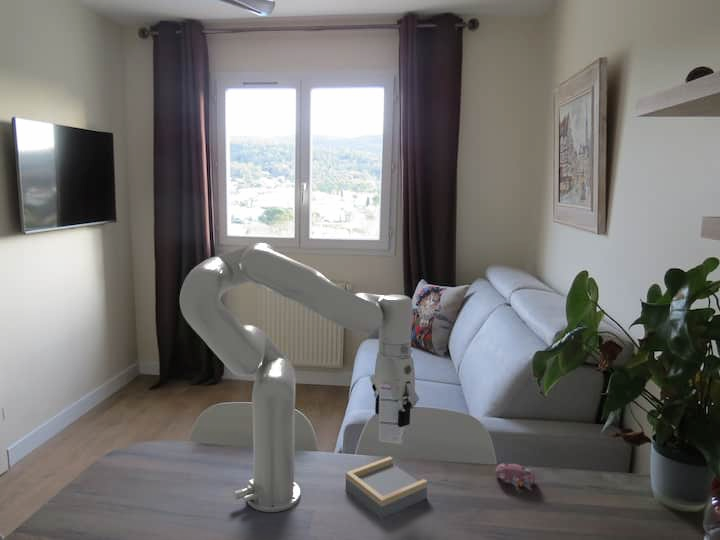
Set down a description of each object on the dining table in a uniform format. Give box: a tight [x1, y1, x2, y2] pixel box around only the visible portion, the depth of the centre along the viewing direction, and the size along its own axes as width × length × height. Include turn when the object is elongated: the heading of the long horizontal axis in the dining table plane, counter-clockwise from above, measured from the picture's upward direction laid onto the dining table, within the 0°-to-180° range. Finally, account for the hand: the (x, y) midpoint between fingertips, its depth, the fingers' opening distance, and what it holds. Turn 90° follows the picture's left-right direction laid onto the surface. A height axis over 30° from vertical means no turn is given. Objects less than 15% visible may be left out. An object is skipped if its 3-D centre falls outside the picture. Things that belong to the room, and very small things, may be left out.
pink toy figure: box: [494, 462, 536, 487], centre depth 132 cm, size 10×5×7 cm, turn 71°
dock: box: [345, 456, 428, 519], centre depth 126 cm, size 14×14×4 cm
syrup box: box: [377, 382, 406, 445], centre depth 124 cm, size 6×6×14 cm
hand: (392, 418), depth 124 cm, fingers closed on syrup box, 7 cm apart
